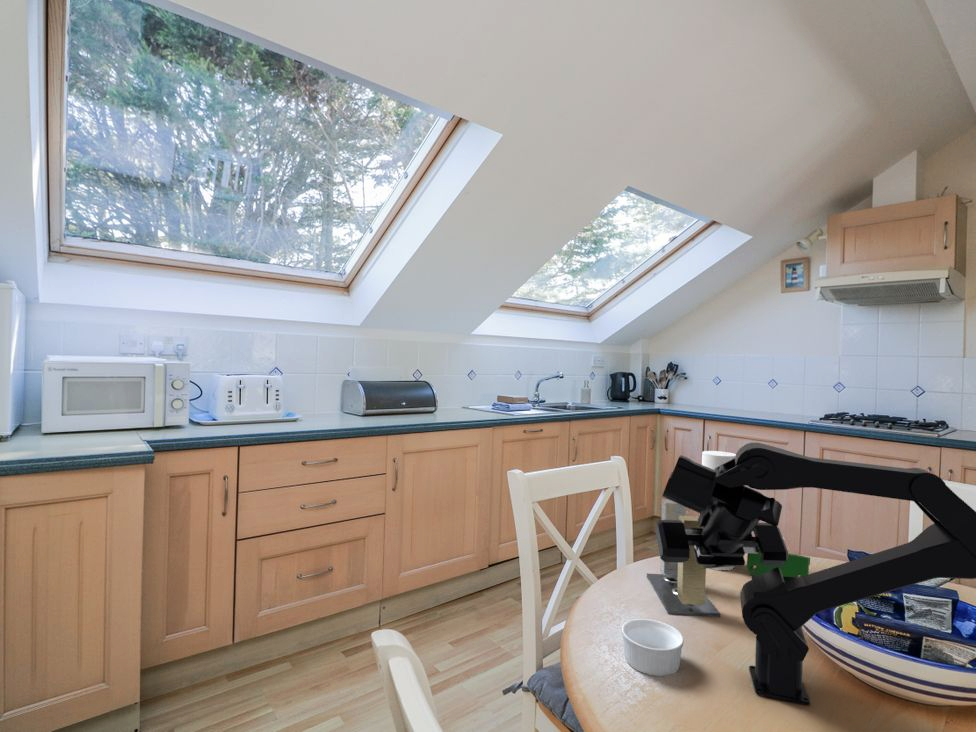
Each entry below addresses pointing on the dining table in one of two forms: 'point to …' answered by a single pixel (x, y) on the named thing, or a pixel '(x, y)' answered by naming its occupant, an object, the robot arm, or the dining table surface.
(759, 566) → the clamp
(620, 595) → the dining table surface
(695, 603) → the sliding leg
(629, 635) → the ramekin
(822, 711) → the dining table surface
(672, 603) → the bolt plate
